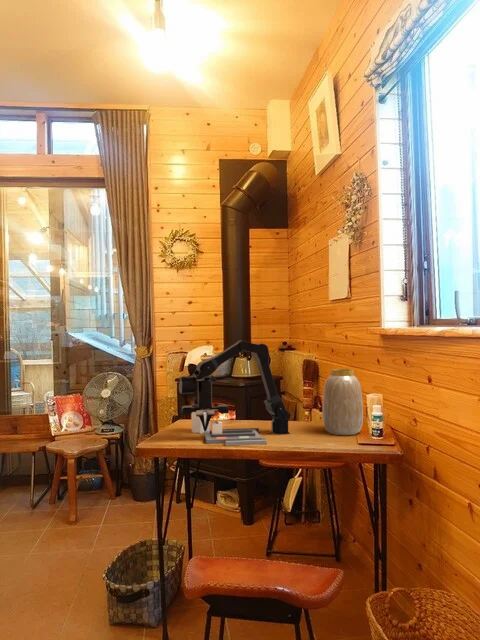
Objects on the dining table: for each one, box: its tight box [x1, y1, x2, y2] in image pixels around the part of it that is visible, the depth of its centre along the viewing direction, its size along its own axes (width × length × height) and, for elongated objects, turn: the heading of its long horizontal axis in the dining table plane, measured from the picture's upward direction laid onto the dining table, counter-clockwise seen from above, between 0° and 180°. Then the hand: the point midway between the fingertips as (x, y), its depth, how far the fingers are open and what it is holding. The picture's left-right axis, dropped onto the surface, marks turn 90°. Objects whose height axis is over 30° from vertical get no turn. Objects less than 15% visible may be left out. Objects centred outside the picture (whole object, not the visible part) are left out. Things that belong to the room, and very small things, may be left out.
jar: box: [191, 402, 211, 434], centre depth 198 cm, size 9×8×12 cm
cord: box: [222, 427, 260, 433], centre depth 196 cm, size 18×1×1 cm, turn 98°
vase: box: [322, 368, 364, 436], centre depth 196 cm, size 17×17×27 cm
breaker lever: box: [211, 420, 223, 434], centre depth 184 cm, size 4×4×5 cm
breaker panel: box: [203, 429, 263, 445], centre depth 185 cm, size 22×16×2 cm
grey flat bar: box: [224, 438, 268, 447], centre depth 175 cm, size 16×3×1 cm, turn 98°
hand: (205, 430), depth 183 cm, fingers closed
